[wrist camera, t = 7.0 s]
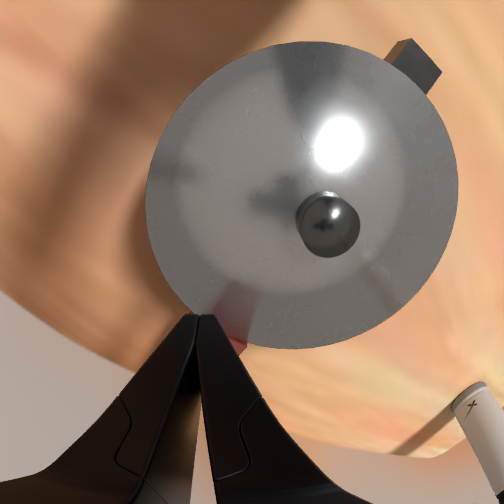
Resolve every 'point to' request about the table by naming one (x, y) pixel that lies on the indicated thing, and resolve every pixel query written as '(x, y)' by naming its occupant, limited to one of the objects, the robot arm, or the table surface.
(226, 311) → the lid
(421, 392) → the table surface
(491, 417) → the travel mug
